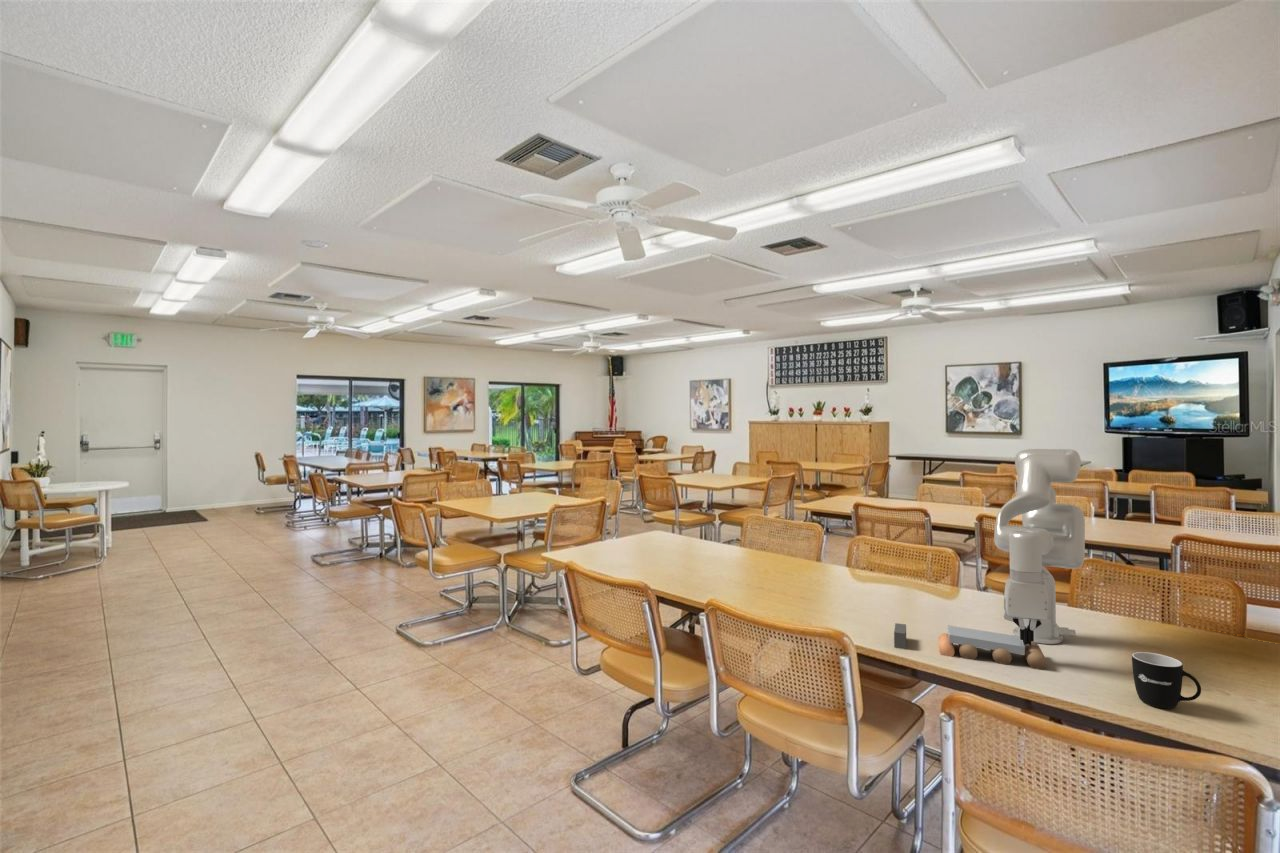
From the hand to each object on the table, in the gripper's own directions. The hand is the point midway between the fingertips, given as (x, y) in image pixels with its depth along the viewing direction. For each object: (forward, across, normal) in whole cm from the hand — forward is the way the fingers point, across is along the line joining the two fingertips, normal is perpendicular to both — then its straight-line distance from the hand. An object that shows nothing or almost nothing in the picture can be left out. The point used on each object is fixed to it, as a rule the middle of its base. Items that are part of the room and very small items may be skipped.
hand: (1026, 643), depth 163 cm
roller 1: (+5, +21, 0) cm, 22 cm away
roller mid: (+3, +6, 0) cm, 7 cm away
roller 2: (+3, +14, 0) cm, 15 cm away
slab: (+1, +10, 0) cm, 10 cm away
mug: (+6, -25, +17) cm, 30 cm away
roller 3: (+3, -2, 0) cm, 3 cm away
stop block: (+5, +32, -1) cm, 32 cm away
